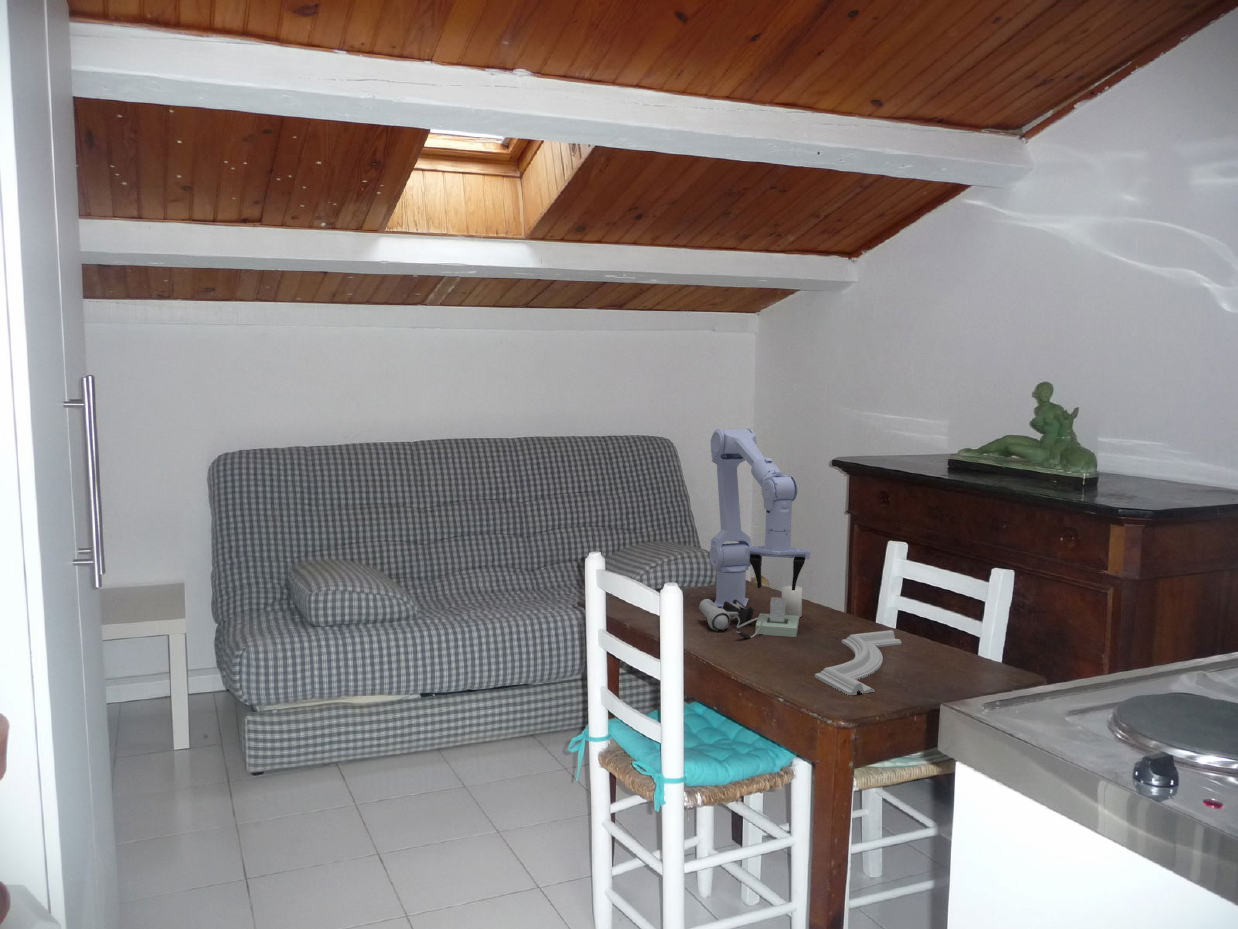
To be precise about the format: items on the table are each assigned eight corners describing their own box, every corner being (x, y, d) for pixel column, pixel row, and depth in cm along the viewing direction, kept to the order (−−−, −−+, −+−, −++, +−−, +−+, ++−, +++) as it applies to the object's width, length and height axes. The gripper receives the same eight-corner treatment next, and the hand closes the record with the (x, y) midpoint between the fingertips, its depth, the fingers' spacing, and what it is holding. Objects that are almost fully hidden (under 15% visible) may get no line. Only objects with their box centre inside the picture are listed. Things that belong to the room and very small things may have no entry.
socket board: (759, 621, 231) (759, 613, 231) (798, 624, 229) (798, 615, 229) (755, 634, 220) (755, 625, 220) (796, 637, 218) (796, 628, 218)
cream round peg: (782, 613, 239) (782, 584, 238) (802, 614, 238) (802, 586, 237) (780, 618, 234) (781, 589, 234) (800, 619, 233) (801, 590, 233)
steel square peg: (770, 627, 226) (771, 597, 226) (784, 628, 226) (785, 598, 225) (769, 630, 223) (770, 600, 223) (783, 631, 223) (784, 601, 222)
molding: (870, 703, 179) (871, 687, 178) (804, 692, 183) (805, 677, 183) (904, 643, 217) (904, 630, 217) (848, 635, 222) (849, 623, 222)
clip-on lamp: (771, 650, 219) (735, 613, 235) (777, 624, 217) (741, 589, 233) (724, 650, 214) (691, 612, 230) (730, 624, 213) (697, 588, 229)
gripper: (744, 530, 220) (742, 590, 222) (810, 534, 217) (808, 594, 219) (747, 525, 227) (745, 583, 229) (811, 528, 224) (809, 587, 226)
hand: (776, 588), depth 224 cm, fingers open, 7 cm apart
